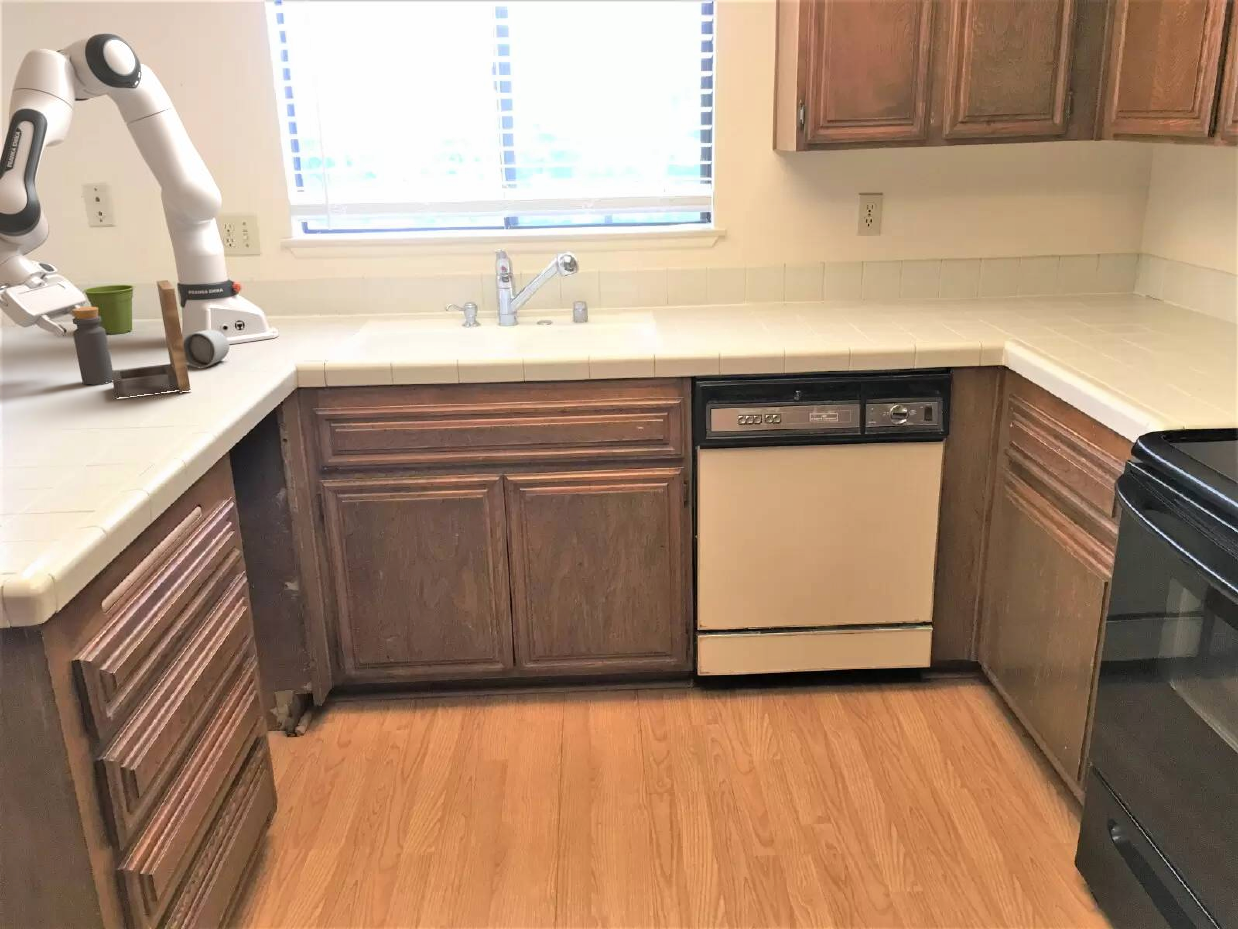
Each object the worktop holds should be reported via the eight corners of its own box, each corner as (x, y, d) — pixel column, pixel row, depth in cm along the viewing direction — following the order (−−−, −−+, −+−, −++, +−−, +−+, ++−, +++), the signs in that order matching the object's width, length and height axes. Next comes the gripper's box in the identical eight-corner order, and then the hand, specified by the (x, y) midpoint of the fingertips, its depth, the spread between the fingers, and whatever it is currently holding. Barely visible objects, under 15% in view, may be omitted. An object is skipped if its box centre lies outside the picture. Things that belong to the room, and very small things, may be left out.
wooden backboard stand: (183, 377, 206) (167, 280, 200) (190, 392, 195) (174, 288, 188) (113, 386, 201) (95, 285, 194) (117, 401, 189) (97, 295, 183)
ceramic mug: (233, 359, 223) (228, 325, 220) (218, 368, 215) (212, 332, 212) (187, 361, 223) (181, 326, 221) (169, 369, 215) (163, 333, 213)
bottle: (89, 379, 207) (75, 306, 202) (119, 378, 208) (105, 305, 203) (77, 385, 202) (63, 311, 197) (107, 384, 202) (94, 310, 197)
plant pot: (81, 333, 256) (73, 289, 253) (126, 326, 266) (118, 283, 262) (107, 338, 250) (98, 293, 246) (151, 330, 259) (144, 286, 256)
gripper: (-6, 277, 188) (55, 328, 191) (56, 263, 207) (111, 310, 210) (-24, 301, 190) (37, 351, 192) (39, 285, 209) (94, 331, 212)
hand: (76, 329), depth 201 cm, fingers open, 8 cm apart
